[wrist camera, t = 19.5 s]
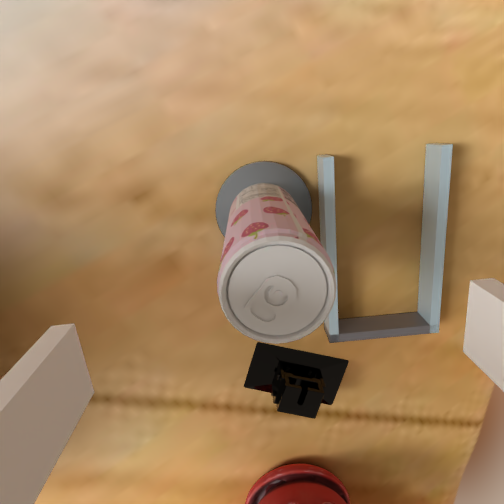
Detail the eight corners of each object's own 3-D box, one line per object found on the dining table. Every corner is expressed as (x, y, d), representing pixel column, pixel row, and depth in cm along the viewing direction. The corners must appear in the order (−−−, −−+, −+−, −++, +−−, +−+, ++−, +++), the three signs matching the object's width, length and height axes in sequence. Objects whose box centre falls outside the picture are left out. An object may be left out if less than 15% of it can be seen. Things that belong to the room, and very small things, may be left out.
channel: (324, 328, 35) (329, 342, 32) (317, 155, 30) (323, 157, 27) (425, 318, 35) (438, 332, 32) (436, 142, 29) (452, 144, 27)
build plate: (364, 354, 36) (379, 384, 32) (340, 411, 39) (352, 447, 34) (243, 327, 35) (242, 355, 31) (226, 388, 38) (223, 422, 33)
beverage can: (224, 243, 31) (206, 339, 17) (235, 176, 29) (225, 222, 15) (289, 254, 32) (324, 357, 17) (304, 189, 30) (356, 245, 16)
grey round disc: (222, 258, 32) (222, 260, 32) (210, 166, 30) (209, 167, 29) (312, 249, 32) (314, 251, 32) (308, 156, 30) (309, 156, 29)
